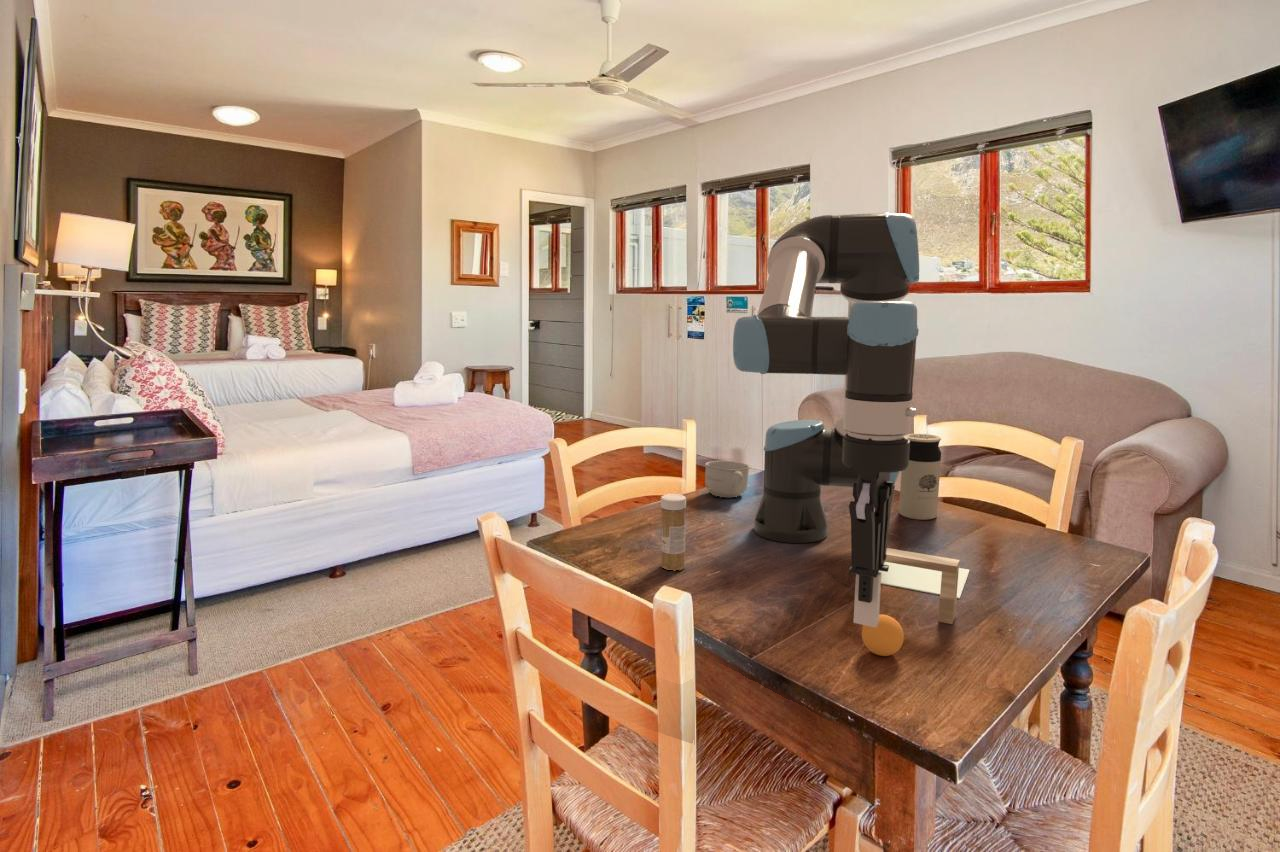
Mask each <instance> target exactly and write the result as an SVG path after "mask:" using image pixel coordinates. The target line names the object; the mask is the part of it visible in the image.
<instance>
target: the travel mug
mask: <svg viewBox="0 0 1280 852" xmlns="http://www.w3.org/2000/svg"><path fill="white" fill-rule="evenodd" d="M904 436H906V437H908V439H909V440H910V450H909V465H908V467H907V468H906V469H905V470H903V471H900V488H899V490H900V491H899V503H898V504H899V505H898V507H899V508H898V514H900V515H901V516H902V517H905V518H906V519H911V520H917V521H928V520H929V521H930V520H933V519H935V518H936V517H937V516H938V505H939V492H940V490H939V489H940V479H941V478H940V477H941V462H942V451H941V449H940V447H939V446H940V442H941V440H942V437H940V436H938V435H936V434H928V433H907V434H906V435H904Z"/></svg>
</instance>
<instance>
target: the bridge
mask: <svg viewBox="0 0 1280 852" xmlns="http://www.w3.org/2000/svg"><path fill="white" fill-rule="evenodd" d="M886 555H887V557H886V560H885V561H883V563H885V562H890V563H896V564H901V565H907V566H913V567H919V568H924V569H930V570H936V571H941V572H942V577H941V590H940V595H939V604H938V606H939V607H938V619H937V622H939V623H944V624H949V625H953V623H954V621H955V619H956V609H957V599H958V598H957V586H958V573H959V568H960V559H955V558H950V557H943V556H938V555H937V556H936V555H930V554H925V553H919V552H915V551H913V552H912V551H906V550H902V549H901V550H900V549H896V548H890V547H889V548H888V547H887V550H886Z"/></svg>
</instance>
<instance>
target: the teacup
mask: <svg viewBox="0 0 1280 852" xmlns="http://www.w3.org/2000/svg"><path fill="white" fill-rule="evenodd" d="M704 466H705V473H704V476H705V477H704V482H705V484H704V485H705V487H706V489H707V490H708V491H709V492H710V493H711V495H713V496H714V495H715V496H714V497H717V496H720V497H719V498H722V497H736V496H738V497H740V496H741V495H742V494H744V493H745V492H746V491H747V488H748V484H749V482H748V481H749V475H750V474H749V473H750V472H749V471H750V465H749V464H747V463H743V462H740V461H739V462H738V461H732V460H731V461H730V460H710V461H707V462H705V463H704ZM708 488H711V489H708ZM739 495H740V496H739ZM736 498H737V497H736Z"/></svg>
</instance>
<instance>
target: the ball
mask: <svg viewBox="0 0 1280 852" xmlns="http://www.w3.org/2000/svg"><path fill="white" fill-rule="evenodd" d="M903 630H904V629H903V628H902V626H901V624H900V622H899V621H897V620H896V619H895V618H893V617H892V616H890V615H887V614H883V613H882V614H879V623H878V625H877V627H876V628H875V627H871V626H866V625H862V628H861V638H862V641H863V643H864V645H865V647H866V648H867V649H868V650H869V651H870V652H871V653H873V654H875V655H876V656H877V655H878V656H882V657H888V656H892V655H895V654H896V653H897V652H898V651H900V649H901V648H902V645H903V643H904V640H905V639H904V637H905V636H904V631H903Z"/></svg>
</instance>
